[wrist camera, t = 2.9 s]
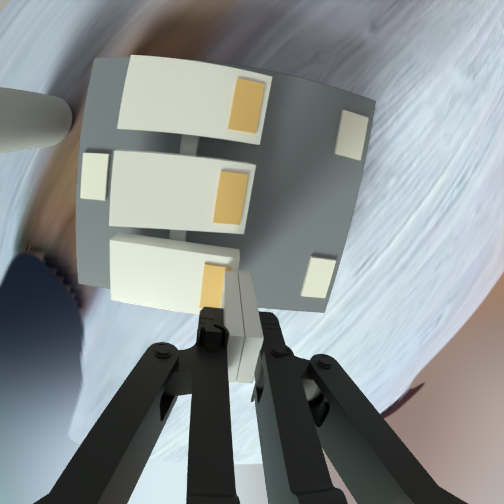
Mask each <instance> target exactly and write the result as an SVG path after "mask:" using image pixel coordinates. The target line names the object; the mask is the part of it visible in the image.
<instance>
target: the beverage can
mask: <svg viewBox="0 0 504 504" xmlns="http://www.w3.org/2000/svg"><path fill="white" fill-rule="evenodd" d="M71 124H72V111H71V109H70V106H69V105H68V103H67V102H66V101H65V100H63V99H62V98H60V97H57V96H51V95H46V94H41V93H35V92H29V91H23V90H17V89H9V88H2V87H0V154H3V153H9V152H14V151H19V150H26V149H33V148H41V147H49V146H53V145H56V144H58V143H59V142H61V141H62V140H63V139H64V138H65V137H66V136H67V134H68V132H69V130H70V127H71Z"/></svg>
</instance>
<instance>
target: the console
mask: <svg viewBox="0 0 504 504" xmlns="http://www.w3.org/2000/svg"><path fill="white" fill-rule="evenodd" d="M175 59H179V58H175ZM183 60H191V59H183ZM191 61H198V62H204V63H210V64H216V65H222V66H227V67H232V68H237V69H242V70H246V71H251V72H255V73H259V74H263V75H268V76H271V77H272V81H271V87H270V92H269V97H268V103H267V108H266V114H265V119H264V124H263V130H262V135H261V141H260V145H257V144H250V143H244V142H238V141H231V140H224V139H217V138H210V137H203V136H194V135H186V134H177V133H166V132H155V131H142V130H127V129H117V125H118V119H119V112H120V106H121V101H122V95H123V90H124V85H125V80H126V75H127V70H128V66H129V62H130V57H104V58H94V63H93V67H92V71H91V76H90V81H89V86H88V91H87V97H86V102H85V108H84V115H83V122H82V129H81V138H80V147H79V157H78V170H77V188H76V251H77V269H78V282H79V284H84V285H90V286H96V287H102V288H108V289H111V287H110V239H111V238H113V237H114V236H115V235H116V234H117V233H118V232H121V233H128V234H135V235H142V236H149V237H156V238H163V239H170V240H177V241H184V242H192V243H199V244H206V245H213V246H220V247H227V248H234V249H239V251H240V261H239V267H238V271H247V272H251V277H252V282H253V287H254V292H255V297H256V302H257V307H258V308H268V309H280V310H292V311H306V312H321V313H325V310H326V307H327V304H328V301H329V297H330V294H331V291H332V288H333V285H334V281H335V278H336V275H337V271H338V268H339V264H340V261H341V257H342V254H343V250H344V246H345V243H346V239H347V235H348V231H349V228H350V224H351V220H352V216H353V212H354V208H355V204H356V199H357V195H358V191H359V186H360V182H361V177H362V173H363V168H364V163H365V158H366V153H367V148H368V143H369V138H370V132H371V127H372V121H373V115H374V109H375V103H376V101H374V100H371V99H368V98H366V97H363V96H360V95H357V94H354V93H351V92H348V91H345V90H342V89H338V88H335V87H332V86H329V85H325V84H322V83H318V82H314V81H311V80H307V79H303V78H299V77H295V76H291V75H286V74H282V73H277V72H272V71H268V70H262V69H257V68H252V67H246V66H240V65H233V64H226V63H219V62H211V61H202V60H191ZM117 149H122V150H139V151H153V152H165V153H176V154H186V155H195V156H204V157H212V158H220V159H228V160H235V161H242V162H248V163H251V164H254V165H256V169H255V174H254V180H253V185H252V191H251V197H250V202H249V208H248V214H247V220H246V225H245V231H244V234H234V233H219V232H204V231H188V230H172V229H155V228H137V227H118V226H109V211H110V193H111V179H112V167H113V157H114V151H115V150H117Z"/></svg>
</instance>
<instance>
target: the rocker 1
mask: <svg viewBox="0 0 504 504" xmlns="http://www.w3.org/2000/svg"><path fill="white" fill-rule="evenodd" d="M271 81H272V77H271V76H268V75H263V74H259V73H255V72H251V71H246V70H242V69H237V68H232V67H227V66H222V65H216V64H210V63H204V62H198V61H191V60H183V59H175V58H166V57H155V56H142V55H131V57H130V62H129V66H128V70H127V75H126V80H125V85H124V90H123V95H122V101H121V106H120V112H119V119H118V125H117V129H127V130H142V131H155V132H166V133H177V134H186V135H194V136H203V137H210V138H217V139H224V140H231V141H238V142H244V143H250V144H257V145H260V141H261V135H262V130H263V124H264V119H265V114H266V108H267V103H268V97H269V92H270V87H271Z"/></svg>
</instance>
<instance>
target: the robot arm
mask: <svg viewBox="0 0 504 504" xmlns="http://www.w3.org/2000/svg"><path fill="white" fill-rule="evenodd" d="M254 376H255V382H256V383H255V386H254V390H253V394H252V398H251V402H253V401H254V399H255V407H256V414H257V422H258V430H259V438H260V445H261V453H262V461H263V467H264V475H265V482H266V490H267V497H268V504H348V503H347V500H346V497H345V495H344V493H343V491H342V490H341V489H338V488H335V487H334V486H333V484H332V481H331V478H330V475H329V471H328V468H327V464H326V461H325V457H324V454H323V451H322V448H323V450H324V451H325V453H326V455H327V456H328V458H329V459H330V461H331V463H332V464H333V466H334V467H335V469H336V471H337V472H338V474H339V476H340V477H341V479H342V480H343V482H344V483H345V485H346V486H347V488H348V490H349V491H350V493H351V494H352V496H353V497H354V499H355V501H356V502H357V504H468V503H466V502H464V501H462V500H461V499H459V498H457V497H455V496H454V495H452V494H451V493H449V492H447V491H446V490H444V489H442V488H441V487H439V486H438V485H437V484H436V482H435V481H434V480H433V479H432V477H431V476H430V475H429V474H428V473H427V471H426V470H425V469H424V468H423V466H422V465H421V464H420V463H419V462H418V460H417V459H416V458H415V457H414V455H413V454H412V453H411V452H410V451H409V449H408V448H407V447H406V446H405V444H404V443H403V442H402V441H401V439H400V438H399V437H398V436H397V435H396V433H395V432H394V431H393V430H392V429H391V427H390V426H389V425H388V424H387V422H386V421H385V420H384V419H383V417H382V416H381V415H380V414H379V412H378V411H377V410H376V409H375V408H374V406H373V405H372V404H371V403H370V401H369V400H368V399H367V398H366V396H365V395H364V394H363V393H362V392H361V390H360V389H359V388H358V387H357V385H356V384H355V383H354V382H353V380H352V379H351V378H350V377H349V376H348V374H347V373H346V372H345V371H344V369H343V368H342V367H341V366H340V364H339V363H338V362H337V361H336V360H335V359H334V358H333V357H331V356H329V355H325V354H316V355H314V356H313V357H312V358H311V359H310V360H306V359H302V358H299V357H296V356H294V354H293V352H292V350H291V349H290V348H289V347H288V346H286V345H285V342H284V338H283V335H282V331H281V328H280V325H279V321H278V318H277V317H276V316H275V315H274V314H273V313H271V312H260V311H258V307H257V302H256V297H255V292H254V287H253V282H252V277H251V272H247V271H238V272H237V271H236V270H231V271H228V270H225V272H224V279H223V286H222V294H221V301H220V308H214V307H205V306H204V308H203V309H202V310H201V311H200V315H199V324H198V330H197V340H196V343H195V345H194V346H192V347H191V348H189V349H185V350H178V349H177V348H176V347H175V346H174V345H172V344H169V343H165V342H159V343H155V344H152V345H151V346H150V347H148V349H147V350H146V352H145V353H144V354H143V356H142V357H141V359H140V360H139V361H138V363H137V364H136V366H135V367H134V368H133V370H132V371H131V373H130V374H129V375H128V377H127V378H126V380H125V381H124V383H123V384H122V385H121V387H120V388H119V390H118V391H117V393H116V394H115V395H114V397H113V398H112V400H111V401H110V403H109V404H108V406H107V407H106V408H105V410H104V411H103V413H102V414H101V416H100V417H99V419H98V420H97V422H96V423H95V425H94V426H93V427H92V429H91V430H90V432H89V433H88V435H87V436H86V438H85V439H84V441H83V442H82V444H81V445H80V447H79V448H78V450H77V451H76V453H75V454H74V456H73V457H72V459H71V460H70V462H69V463H68V465H67V467H66V468H65V470H64V471H63V473H62V474H61V476H60V477H59V479H58V480H57V482H56V484H55V485H54V487H53V488H52V490H51V492H50V493H49V494H47V495H46V496H44V497H43V498H41V499H40V500H38V501H37V502H35V503H34V504H127V503H128V501H129V499H130V496H131V494H132V492H133V490H134V488H135V486H136V484H137V482H138V480H139V477H140V475H141V473H142V471H143V469H144V467H145V465H146V463H147V461H148V459H149V457H150V454H151V452H152V450H153V448H154V446H155V444H156V442H157V440H158V438H159V436H160V433H161V431H162V429H163V427H164V425H165V423H166V421H167V419H168V417H169V415H170V413H171V410H172V408H173V406H174V404H175V402H176V400H177V397H178V396H179V395H186V394H192V399H191V414H190V430H189V449H188V472H187V473H188V474H187V499H186V501H187V503H186V504H240V501H239V497H238V496H237V494H236V488H235V476H234V462H233V448H232V433H231V417H230V399H229V382H240V383H253V380H254Z"/></svg>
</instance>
